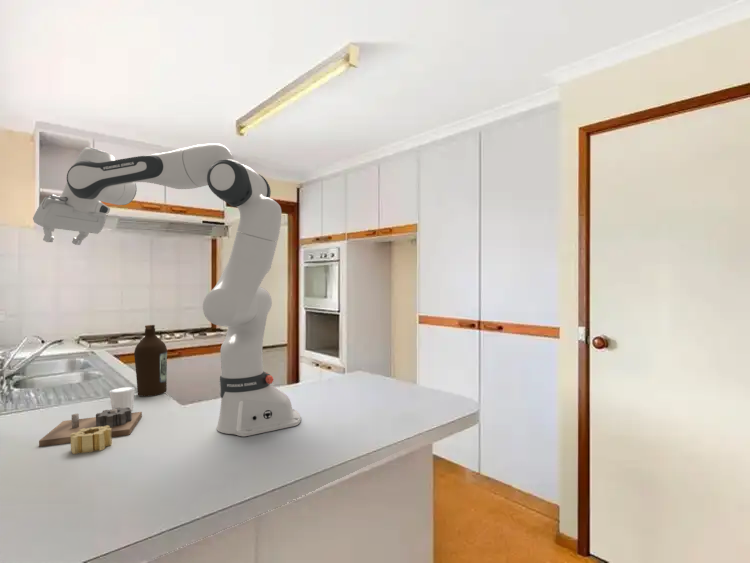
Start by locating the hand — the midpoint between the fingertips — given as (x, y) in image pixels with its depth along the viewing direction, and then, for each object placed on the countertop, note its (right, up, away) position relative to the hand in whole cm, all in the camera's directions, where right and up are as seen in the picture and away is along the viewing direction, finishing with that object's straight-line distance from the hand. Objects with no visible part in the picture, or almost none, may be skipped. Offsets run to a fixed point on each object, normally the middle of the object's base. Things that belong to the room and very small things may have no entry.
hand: (62, 242), depth 124 cm
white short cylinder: (+13, -53, +8) cm, 55 cm away
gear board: (+16, -53, -9) cm, 56 cm away
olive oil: (+11, -53, +29) cm, 61 cm away
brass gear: (+23, -52, -21) cm, 61 cm away
